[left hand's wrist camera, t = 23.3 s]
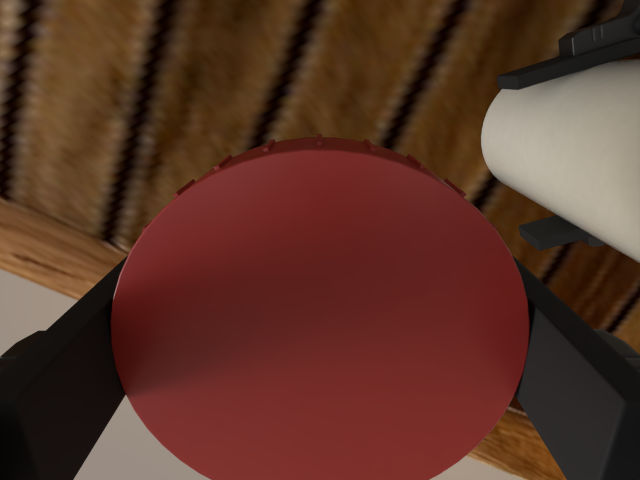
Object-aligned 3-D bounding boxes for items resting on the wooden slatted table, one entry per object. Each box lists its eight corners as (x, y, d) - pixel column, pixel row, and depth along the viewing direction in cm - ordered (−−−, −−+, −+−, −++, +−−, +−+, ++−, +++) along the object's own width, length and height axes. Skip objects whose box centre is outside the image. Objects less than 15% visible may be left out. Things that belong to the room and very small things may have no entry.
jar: (458, 116, 31) (646, 170, 13) (576, 35, 29) (987, -33, 11) (515, 214, 34) (736, 370, 16) (626, 145, 32) (1024, 233, 14)
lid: (569, 211, 11) (618, 237, 9) (412, 483, 15) (425, 540, 13) (184, 73, 10) (153, 72, 8) (112, 404, 13) (79, 456, 12)
